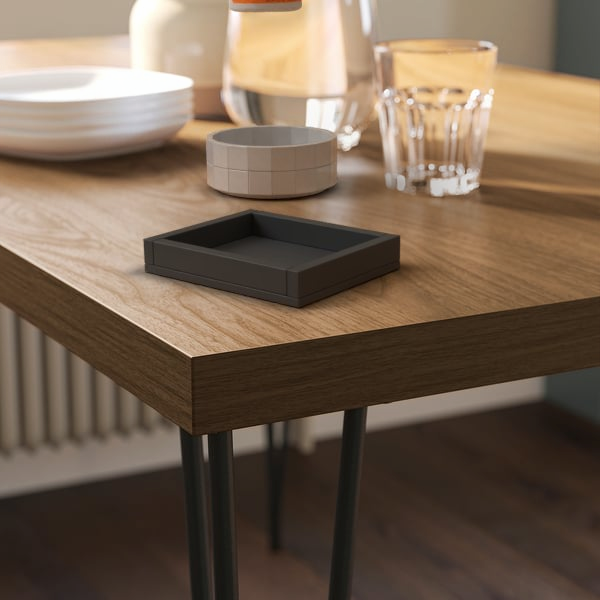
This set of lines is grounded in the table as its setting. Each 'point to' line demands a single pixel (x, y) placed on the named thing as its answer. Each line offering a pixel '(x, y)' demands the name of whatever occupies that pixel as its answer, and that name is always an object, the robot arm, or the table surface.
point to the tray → (273, 256)
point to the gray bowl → (271, 161)
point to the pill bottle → (265, 5)
